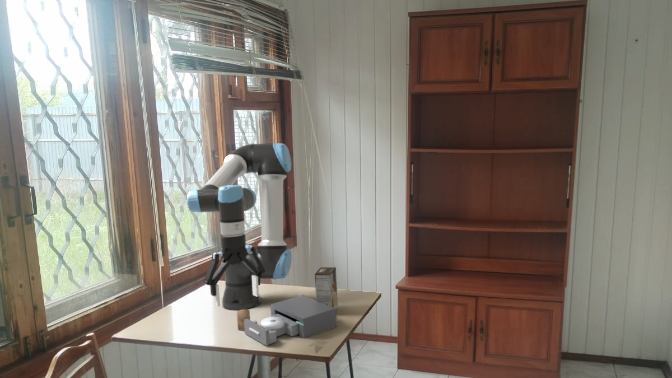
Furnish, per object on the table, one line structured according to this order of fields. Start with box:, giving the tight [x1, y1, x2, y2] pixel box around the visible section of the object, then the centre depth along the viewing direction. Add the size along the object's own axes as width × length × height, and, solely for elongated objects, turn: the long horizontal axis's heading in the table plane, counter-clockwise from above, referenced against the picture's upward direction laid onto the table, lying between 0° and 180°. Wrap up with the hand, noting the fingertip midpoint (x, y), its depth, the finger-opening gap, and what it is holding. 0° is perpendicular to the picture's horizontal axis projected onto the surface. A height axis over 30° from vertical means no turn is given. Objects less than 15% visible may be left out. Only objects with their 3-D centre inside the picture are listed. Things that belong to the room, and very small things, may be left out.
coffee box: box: [314, 266, 339, 310], centre depth 186 cm, size 9×6×16 cm
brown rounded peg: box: [236, 309, 251, 332], centre depth 173 cm, size 4×4×6 cm
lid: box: [260, 316, 285, 330], centre depth 167 cm, size 8×8×2 cm
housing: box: [270, 294, 337, 339], centre depth 174 cm, size 20×14×7 cm
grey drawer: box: [244, 314, 299, 347], centre depth 166 cm, size 14×14×5 cm
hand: (236, 300), depth 157 cm, fingers open, 13 cm apart
